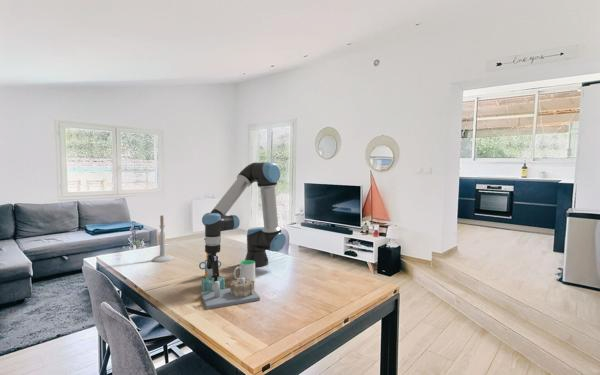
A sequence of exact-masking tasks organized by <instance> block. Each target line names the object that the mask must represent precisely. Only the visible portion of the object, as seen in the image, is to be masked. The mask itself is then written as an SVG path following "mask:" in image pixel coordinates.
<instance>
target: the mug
mask: <svg viewBox="0 0 600 375" xmlns="http://www.w3.org/2000/svg"><path fill="white" fill-rule="evenodd" d="M238 269H239V277H237V276H236V273H237V270H238ZM233 277H234V279H236V280H238V279H240V278H245V279H250V280H251V281H252V280H253V281H254V283H255V282H256V267H255V261H252V260H245V259H244V260H241V261H240V262H239V266H236V267H235V268H234V269H233Z"/></svg>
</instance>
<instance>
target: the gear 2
mask: <svg viewBox="0 0 600 375" xmlns="http://www.w3.org/2000/svg"><path fill="white" fill-rule="evenodd" d="M229 286H230V287H229V288H230V294H231V295H235V297H239V296H243V297H247V295H253V294H254V291H255V282H254V281H253V280H252V281H251V280H250V279H245V284H240V279H236V280H231V283H230V285H229Z"/></svg>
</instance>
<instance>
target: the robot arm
mask: <svg viewBox="0 0 600 375" xmlns="http://www.w3.org/2000/svg"><path fill="white" fill-rule="evenodd" d="M280 178H281V170H280V168H279V166H278V165H277V164H276V163H274V162H268V161H267V162H265V161H264V162H252V163H250V164H248V165H246V166H245V167H244V168H243V169H241V171H240V172H239V173H238V174H237V175H236V179H235V181H234V182H233V184H232V185H231V186H230V187H229V188H228V189H227V191H226V192H225V193H224V195H223V196H222V197H221V198H220V200H219V201H218V202H217V203H216V205H215V206H214V208H213V209H212V210H211V211H210V212H207V213H204V214H203V215H202V217H201V218H202V219H201V223H202V224H203V226H204V236H205V237H204V238H203V241H204V242H205V243H204V244H205V245H204V253H208V258H207V259H206V260H207V261H206V263H207V276H212V290H214V282H215V281H218V277H219V276H220V271H219V270H220V267H218V266H219V262H218V261H219V256H218V255H217V253H220V252H221V233H222V232H225V231H233V230H236V229H238V228H239V226H240V225H241V224H240V223H241V222H240V218H239V217H238V215H235V214H234V215H233V214H230V215H227V213H228V212H230V210H231V209H232V207H233V206H234V204H235V203H236V202H237V201H238V199H239V198H240V197H241V196H242V194H243V193H244V191H246V189H247V188H248V187H251V185H252V184H253V183H257V187H258V188H259V189H260V198H261V207H262V209H261V210H262V218H263V226H261V227H251V228H249V229H248V230H247V231H246V232H247V233H246V248H247V250H246V255H245V258H244V261H245V260H252V261H255V268H259V267H260V268H261V267H264V266H267V265H269V258H268V254H267V252H266V251H270V252H281V250H283V249H284V247H285V245H286V241H287V237H286V234H284V232H282V227H280V226H279V220H278V208H277V197H276V186H277V185H278V182H279V181H280ZM211 268H212V269H211ZM215 274H216V275H215Z"/></svg>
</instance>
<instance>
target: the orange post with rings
mask: <svg viewBox="0 0 600 375" xmlns="http://www.w3.org/2000/svg"><path fill="white" fill-rule="evenodd" d="M205 253H206V252H205ZM207 258H208V253H206V258H205V260H204V261H201V262H199V264H198V268H199V269H200V270H204V278H206V277H207ZM202 264H204V267H201V265H202ZM221 266H222V262H221V261H220V260H218V267H219V268H220V267H221ZM211 269H212V268H211ZM215 275H216V274H215Z"/></svg>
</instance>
